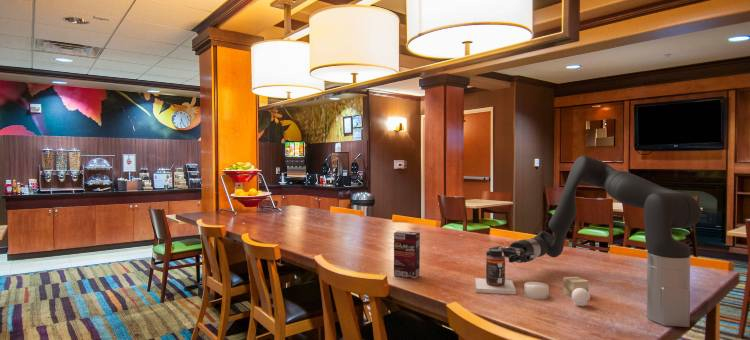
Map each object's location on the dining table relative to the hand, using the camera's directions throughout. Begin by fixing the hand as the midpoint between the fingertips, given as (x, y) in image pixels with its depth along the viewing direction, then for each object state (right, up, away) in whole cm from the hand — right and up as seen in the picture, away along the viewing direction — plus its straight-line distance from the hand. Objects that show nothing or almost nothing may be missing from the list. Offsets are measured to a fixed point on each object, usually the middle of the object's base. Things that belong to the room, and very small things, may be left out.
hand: (498, 257), depth 142 cm
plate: (-2, -10, -1) cm, 10 cm away
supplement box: (-29, -10, +14) cm, 34 cm away
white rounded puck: (+9, -10, -9) cm, 16 cm away
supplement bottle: (-1, -9, -1) cm, 9 cm away
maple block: (+21, -10, -9) cm, 25 cm away
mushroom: (+18, -10, -18) cm, 28 cm away
